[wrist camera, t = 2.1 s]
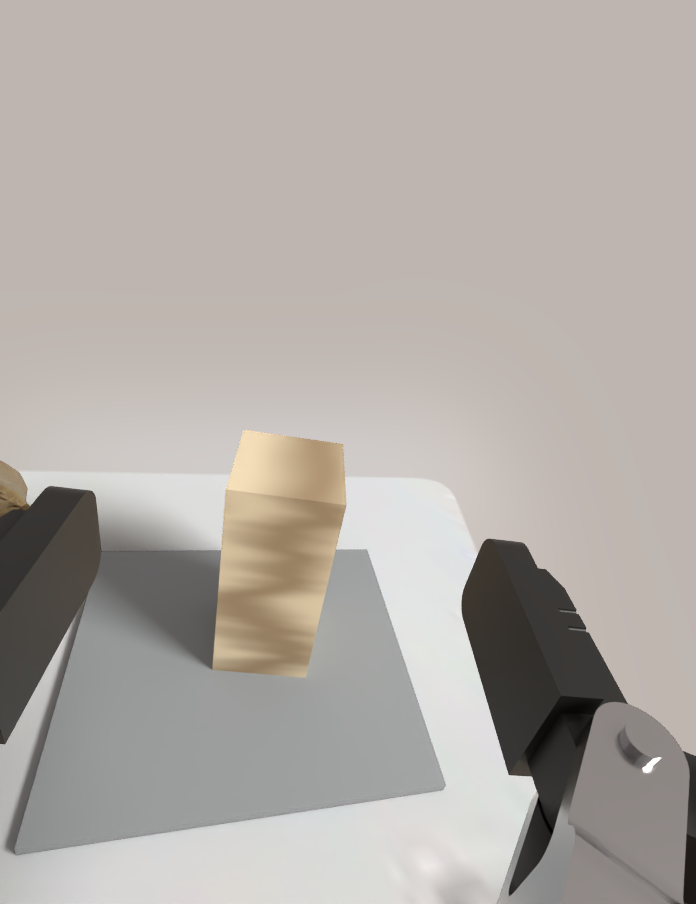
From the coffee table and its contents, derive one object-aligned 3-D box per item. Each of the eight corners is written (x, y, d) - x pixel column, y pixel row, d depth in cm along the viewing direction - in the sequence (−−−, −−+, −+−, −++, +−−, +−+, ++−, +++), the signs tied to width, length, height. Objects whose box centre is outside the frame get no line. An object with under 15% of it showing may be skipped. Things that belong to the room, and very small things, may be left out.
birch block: (212, 669, 26) (226, 489, 20) (228, 597, 31) (243, 429, 24) (305, 677, 27) (346, 505, 21) (308, 605, 31) (343, 444, 25)
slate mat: (16, 854, 19) (14, 849, 19) (100, 556, 32) (100, 551, 32) (442, 789, 24) (445, 785, 24) (365, 554, 37) (366, 549, 37)
